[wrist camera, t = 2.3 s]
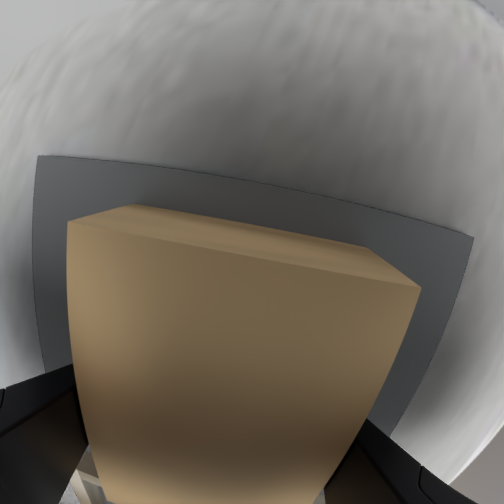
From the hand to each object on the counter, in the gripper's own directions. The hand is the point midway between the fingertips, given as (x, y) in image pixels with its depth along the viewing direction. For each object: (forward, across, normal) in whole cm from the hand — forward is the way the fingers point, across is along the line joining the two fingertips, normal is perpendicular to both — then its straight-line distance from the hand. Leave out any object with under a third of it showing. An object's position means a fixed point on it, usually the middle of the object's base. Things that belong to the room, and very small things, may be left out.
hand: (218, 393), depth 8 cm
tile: (+1, 0, 0) cm, 1 cm away
